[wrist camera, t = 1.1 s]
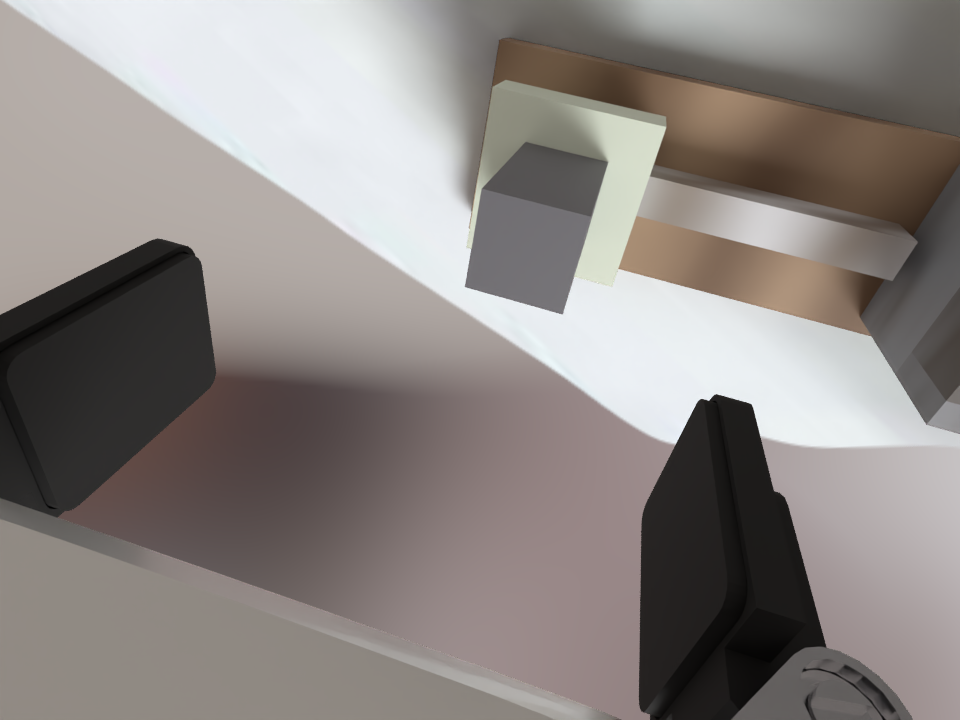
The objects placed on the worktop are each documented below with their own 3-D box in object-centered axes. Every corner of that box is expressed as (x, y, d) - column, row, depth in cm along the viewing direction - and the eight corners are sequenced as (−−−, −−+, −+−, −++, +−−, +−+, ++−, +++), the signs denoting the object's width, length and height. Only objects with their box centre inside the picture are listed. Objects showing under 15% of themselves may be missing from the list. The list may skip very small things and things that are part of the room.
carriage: (665, 107, 22) (667, 173, 14) (618, 249, 25) (598, 369, 17) (517, 73, 22) (435, 117, 14) (491, 216, 26) (413, 316, 18)
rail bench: (1155, 180, 20) (1429, 282, 13) (1002, 357, 25) (1142, 506, 18) (507, 37, 23) (438, 55, 16) (477, 218, 28) (412, 296, 21)
